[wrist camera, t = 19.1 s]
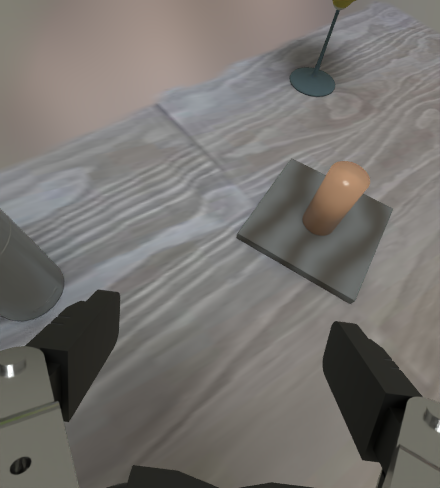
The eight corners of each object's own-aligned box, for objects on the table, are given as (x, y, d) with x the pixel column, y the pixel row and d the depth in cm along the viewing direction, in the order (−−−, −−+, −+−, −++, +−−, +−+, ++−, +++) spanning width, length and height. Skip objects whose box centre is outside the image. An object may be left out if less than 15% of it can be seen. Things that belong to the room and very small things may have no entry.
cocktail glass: (336, 60, 76) (394, -80, 54) (360, 107, 67) (439, -37, 46) (268, 59, 74) (298, -87, 52) (283, 107, 65) (328, -43, 43)
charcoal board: (236, 237, 49) (237, 233, 47) (289, 163, 57) (291, 158, 56) (350, 303, 45) (355, 300, 43) (388, 213, 53) (393, 208, 52)
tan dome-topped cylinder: (296, 223, 49) (322, 177, 39) (311, 202, 51) (340, 155, 42) (326, 241, 48) (360, 199, 38) (340, 219, 50) (376, 174, 40)
